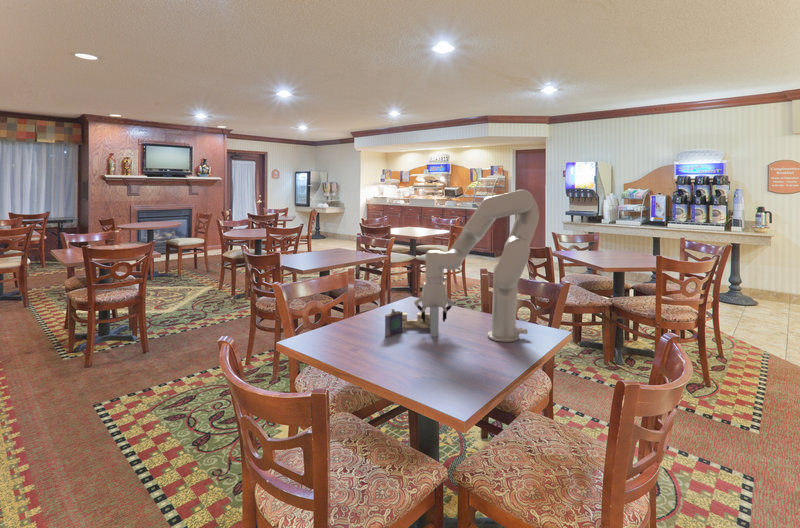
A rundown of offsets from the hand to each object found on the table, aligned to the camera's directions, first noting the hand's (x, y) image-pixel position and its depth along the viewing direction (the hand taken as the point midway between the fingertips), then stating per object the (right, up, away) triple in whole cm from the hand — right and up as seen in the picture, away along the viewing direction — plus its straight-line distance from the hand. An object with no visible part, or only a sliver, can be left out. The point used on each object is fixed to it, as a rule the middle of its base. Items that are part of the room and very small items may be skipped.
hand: (433, 320), depth 187 cm
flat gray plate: (0, -5, +1) cm, 5 cm away
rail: (-9, -4, +9) cm, 13 cm away
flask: (-17, -6, -1) cm, 18 cm away
